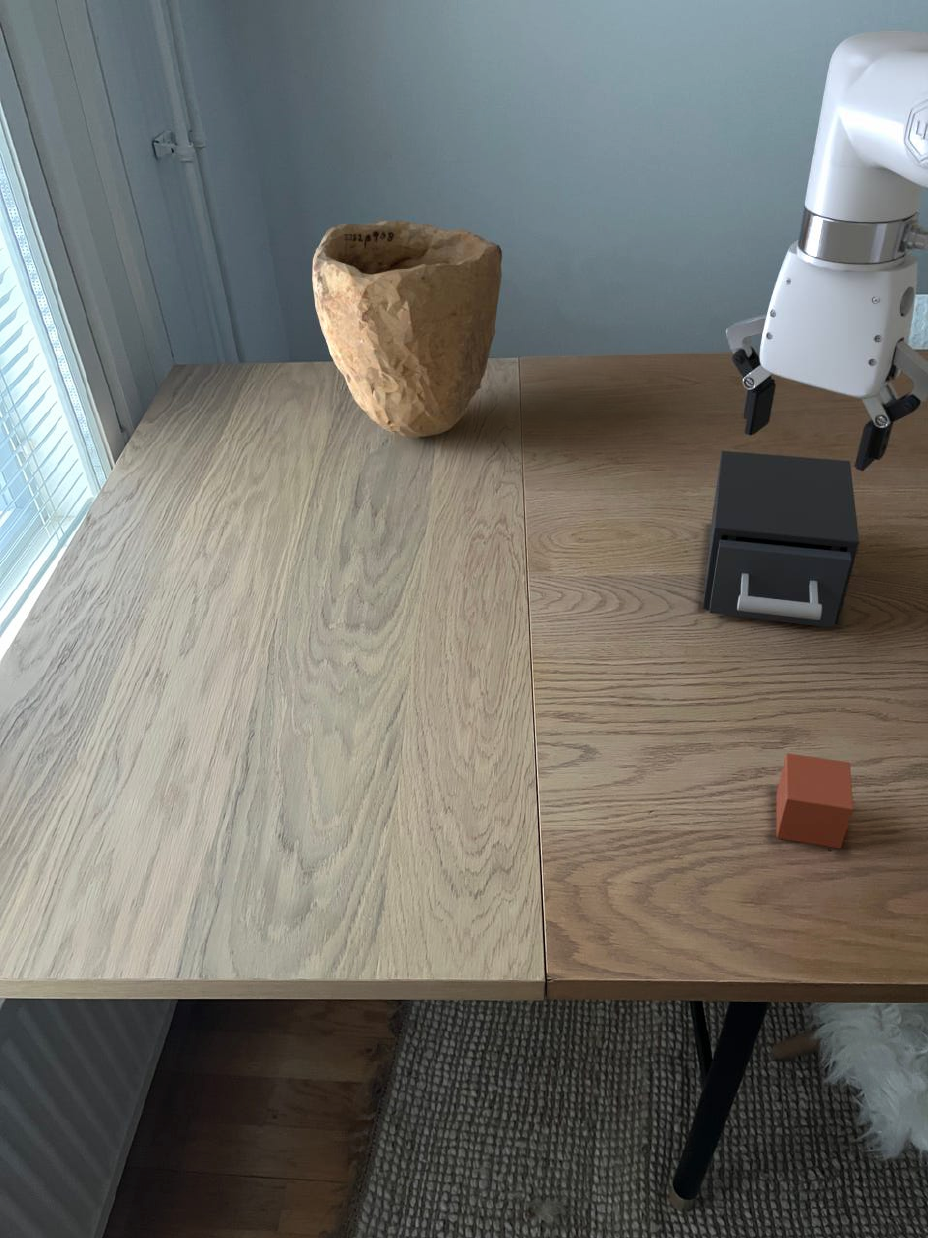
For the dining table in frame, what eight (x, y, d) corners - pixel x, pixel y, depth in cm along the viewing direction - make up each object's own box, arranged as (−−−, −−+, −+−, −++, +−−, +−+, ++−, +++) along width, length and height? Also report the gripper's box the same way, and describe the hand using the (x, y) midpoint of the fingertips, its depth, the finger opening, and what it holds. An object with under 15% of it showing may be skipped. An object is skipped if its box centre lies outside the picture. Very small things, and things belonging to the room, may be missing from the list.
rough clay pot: (542, 425, 124) (544, 227, 108) (424, 496, 112) (406, 285, 96) (420, 380, 136) (405, 196, 121) (300, 440, 124) (267, 244, 108)
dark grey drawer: (836, 662, 85) (854, 593, 80) (706, 645, 88) (716, 578, 83) (828, 546, 99) (843, 482, 94) (715, 535, 101) (725, 471, 96)
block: (837, 802, 74) (850, 762, 71) (840, 849, 71) (853, 809, 68) (776, 792, 75) (786, 752, 72) (776, 838, 72) (786, 798, 69)
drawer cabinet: (837, 624, 90) (859, 541, 84) (702, 609, 93) (714, 527, 87) (831, 539, 101) (850, 460, 95) (710, 527, 104) (721, 450, 98)
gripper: (998, 241, 66) (931, 459, 76) (768, 201, 75) (738, 401, 86) (958, 273, 61) (894, 498, 72) (720, 226, 71) (694, 433, 81)
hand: (809, 445), depth 79 cm, fingers open, 9 cm apart
